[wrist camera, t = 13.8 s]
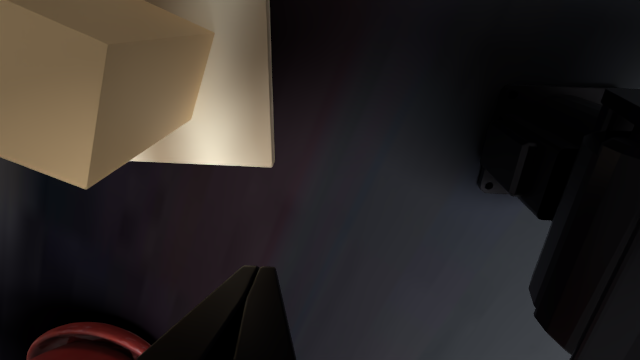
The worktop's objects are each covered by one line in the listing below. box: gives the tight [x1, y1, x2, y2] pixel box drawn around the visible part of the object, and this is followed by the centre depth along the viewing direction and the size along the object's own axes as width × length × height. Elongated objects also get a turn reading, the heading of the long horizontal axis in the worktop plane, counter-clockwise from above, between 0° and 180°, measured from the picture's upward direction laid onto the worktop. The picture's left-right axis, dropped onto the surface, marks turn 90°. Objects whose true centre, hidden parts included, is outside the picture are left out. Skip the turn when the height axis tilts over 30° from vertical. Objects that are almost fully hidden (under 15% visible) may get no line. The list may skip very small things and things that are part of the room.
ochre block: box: [0, 0, 215, 189], centre depth 14 cm, size 5×5×9 cm
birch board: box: [130, 0, 275, 167], centre depth 19 cm, size 12×12×1 cm
